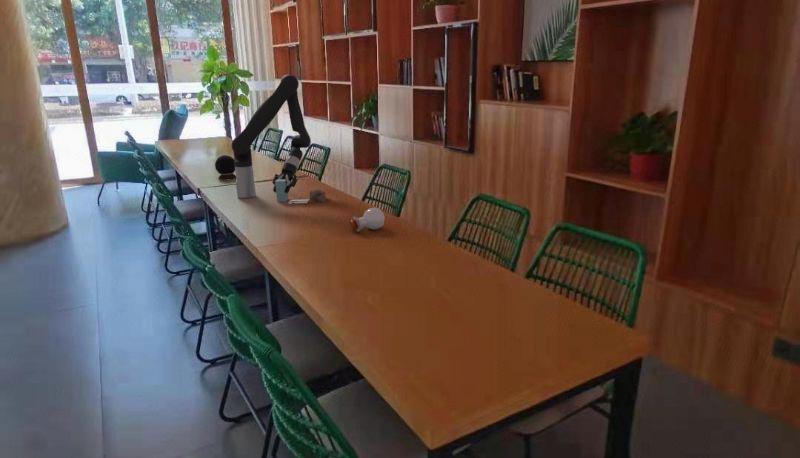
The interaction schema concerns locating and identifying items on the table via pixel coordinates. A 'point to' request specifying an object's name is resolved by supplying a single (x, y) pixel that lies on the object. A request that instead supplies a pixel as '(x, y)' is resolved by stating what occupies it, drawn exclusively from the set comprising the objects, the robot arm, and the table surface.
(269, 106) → the robot arm
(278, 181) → the teal brick
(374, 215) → the potion bottle
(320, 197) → the walnut base brick
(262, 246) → the table surface
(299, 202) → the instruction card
